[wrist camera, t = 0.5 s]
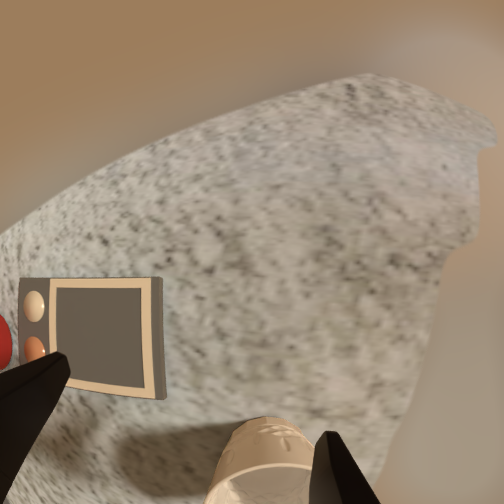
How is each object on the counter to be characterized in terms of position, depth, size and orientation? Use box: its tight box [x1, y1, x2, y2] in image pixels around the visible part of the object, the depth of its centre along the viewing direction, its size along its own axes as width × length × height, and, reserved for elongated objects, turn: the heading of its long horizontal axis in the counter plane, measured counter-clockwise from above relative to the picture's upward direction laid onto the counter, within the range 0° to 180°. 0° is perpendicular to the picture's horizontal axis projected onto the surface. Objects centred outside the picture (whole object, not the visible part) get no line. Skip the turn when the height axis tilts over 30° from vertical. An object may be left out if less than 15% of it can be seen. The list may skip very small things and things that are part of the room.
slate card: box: [18, 277, 167, 400], centre depth 22 cm, size 10×16×1 cm, turn 92°
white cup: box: [203, 416, 315, 504], centre depth 16 cm, size 8×8×10 cm
